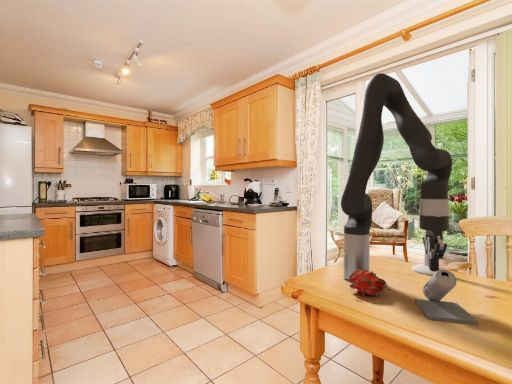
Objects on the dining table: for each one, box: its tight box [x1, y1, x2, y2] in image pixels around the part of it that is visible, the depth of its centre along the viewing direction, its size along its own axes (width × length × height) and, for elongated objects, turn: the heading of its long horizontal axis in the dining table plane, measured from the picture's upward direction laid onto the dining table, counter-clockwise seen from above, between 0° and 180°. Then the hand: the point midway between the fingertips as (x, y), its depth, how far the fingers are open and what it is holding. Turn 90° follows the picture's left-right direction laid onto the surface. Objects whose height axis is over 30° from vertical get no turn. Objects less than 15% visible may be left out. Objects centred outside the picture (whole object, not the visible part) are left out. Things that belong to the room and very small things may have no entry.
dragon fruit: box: [347, 269, 389, 298], centre depth 88 cm, size 8×8×12 cm
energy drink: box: [422, 268, 457, 301], centre depth 78 cm, size 5×5×12 cm
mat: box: [414, 298, 479, 325], centre depth 75 cm, size 11×12×1 cm
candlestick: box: [410, 250, 446, 277], centre depth 113 cm, size 13×13×30 cm
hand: (433, 270), depth 82 cm, fingers closed
